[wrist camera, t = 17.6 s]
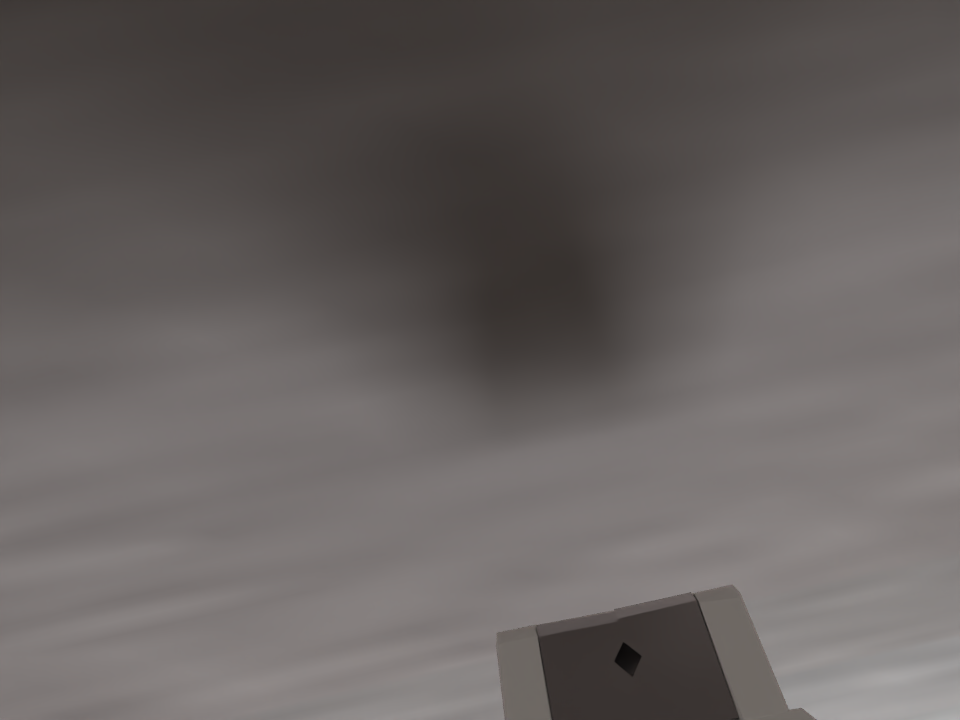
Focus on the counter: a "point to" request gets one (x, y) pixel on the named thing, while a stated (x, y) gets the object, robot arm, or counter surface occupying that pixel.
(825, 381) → the counter surface
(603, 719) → the robot arm
